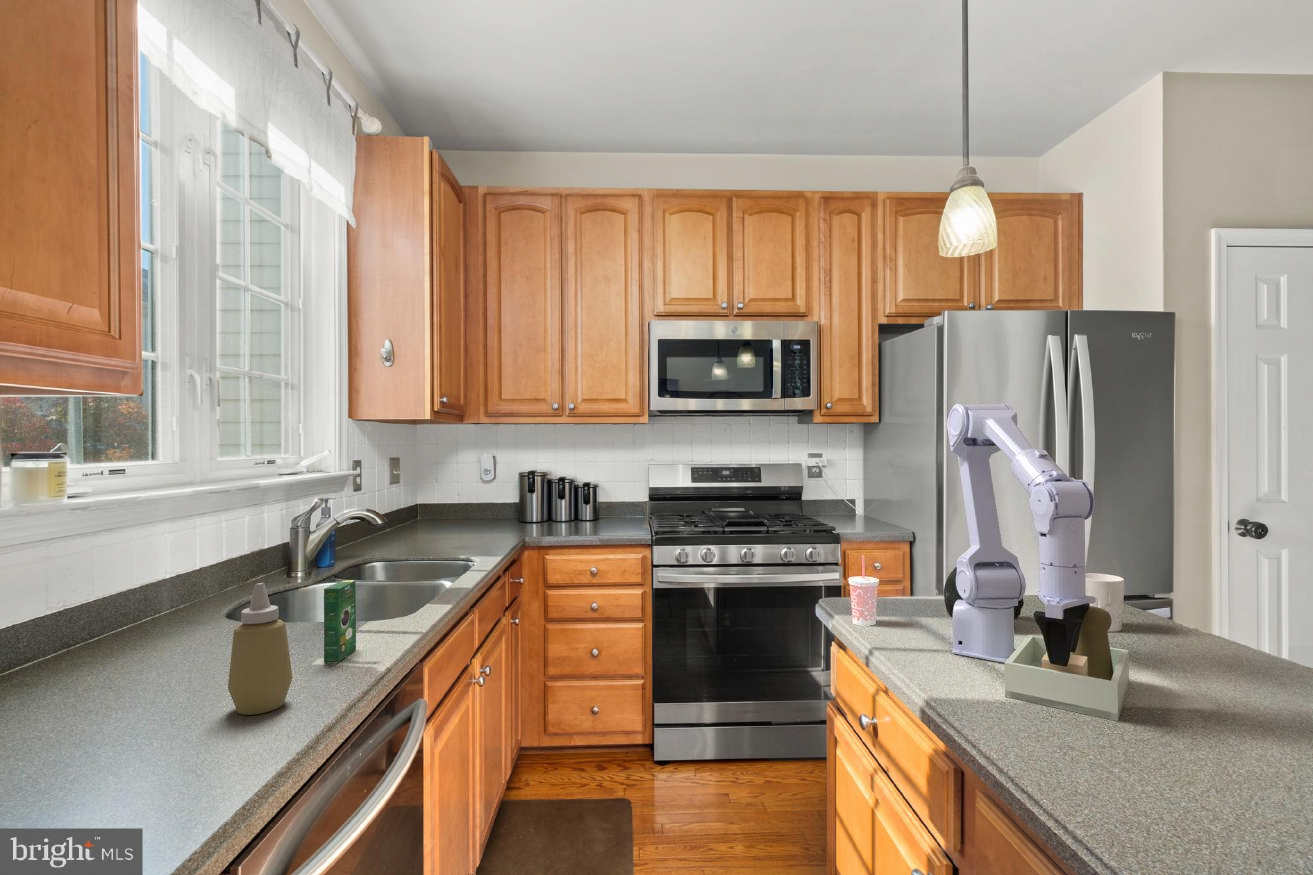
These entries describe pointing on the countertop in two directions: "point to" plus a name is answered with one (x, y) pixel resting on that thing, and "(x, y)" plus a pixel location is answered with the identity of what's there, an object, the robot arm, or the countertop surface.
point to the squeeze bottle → (259, 658)
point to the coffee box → (339, 621)
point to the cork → (1096, 643)
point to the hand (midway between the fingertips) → (1063, 657)
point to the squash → (953, 595)
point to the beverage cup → (863, 598)
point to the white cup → (1107, 596)
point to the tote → (1065, 682)
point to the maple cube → (1069, 665)
